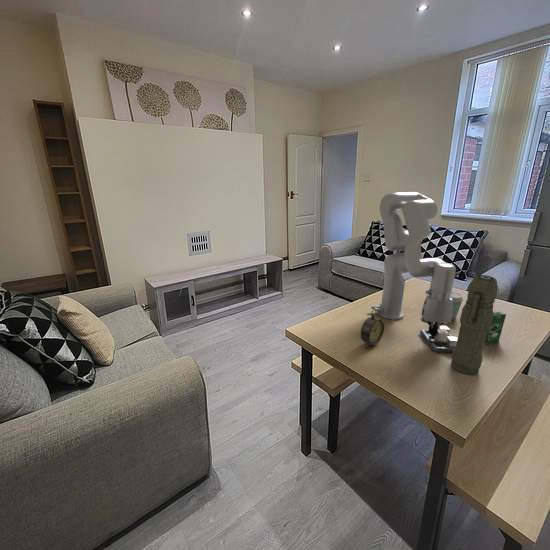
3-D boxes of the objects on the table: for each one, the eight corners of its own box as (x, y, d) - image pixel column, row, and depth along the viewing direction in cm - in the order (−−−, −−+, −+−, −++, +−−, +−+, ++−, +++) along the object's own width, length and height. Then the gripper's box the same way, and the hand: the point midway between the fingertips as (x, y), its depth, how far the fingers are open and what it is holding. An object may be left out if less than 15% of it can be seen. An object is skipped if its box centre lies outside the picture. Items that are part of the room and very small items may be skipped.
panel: (432, 352, 115) (434, 341, 113) (420, 333, 129) (421, 323, 127) (462, 354, 114) (465, 343, 112) (446, 335, 128) (448, 324, 126)
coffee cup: (453, 313, 148) (458, 291, 144) (462, 321, 140) (467, 298, 136) (436, 313, 148) (440, 291, 145) (443, 320, 140) (448, 298, 137)
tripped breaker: (437, 342, 120) (439, 332, 118) (434, 338, 123) (436, 328, 121) (446, 343, 119) (448, 332, 118) (443, 339, 122) (445, 328, 121)
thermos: (482, 365, 107) (505, 275, 96) (475, 381, 99) (499, 285, 88) (454, 356, 113) (473, 270, 102) (446, 370, 105) (465, 278, 93)
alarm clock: (368, 351, 116) (372, 315, 111) (356, 346, 120) (360, 310, 115) (383, 342, 123) (387, 307, 117) (371, 337, 127) (375, 303, 121)
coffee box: (493, 338, 125) (500, 310, 121) (499, 341, 122) (507, 313, 118) (478, 341, 123) (485, 313, 119) (484, 344, 120) (492, 316, 116)
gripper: (422, 296, 112) (416, 338, 118) (464, 298, 110) (455, 340, 116) (416, 289, 119) (410, 329, 125) (455, 291, 117) (447, 331, 123)
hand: (432, 334), depth 120 cm, fingers closed
